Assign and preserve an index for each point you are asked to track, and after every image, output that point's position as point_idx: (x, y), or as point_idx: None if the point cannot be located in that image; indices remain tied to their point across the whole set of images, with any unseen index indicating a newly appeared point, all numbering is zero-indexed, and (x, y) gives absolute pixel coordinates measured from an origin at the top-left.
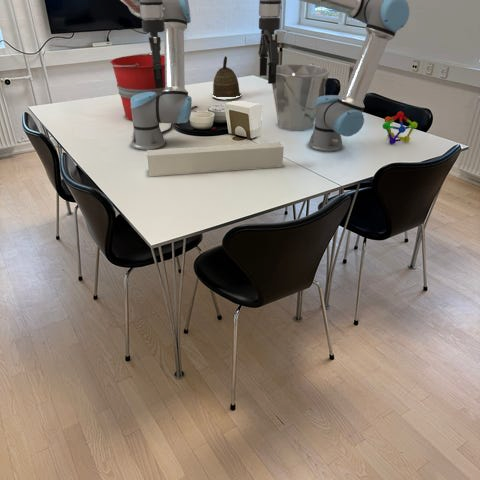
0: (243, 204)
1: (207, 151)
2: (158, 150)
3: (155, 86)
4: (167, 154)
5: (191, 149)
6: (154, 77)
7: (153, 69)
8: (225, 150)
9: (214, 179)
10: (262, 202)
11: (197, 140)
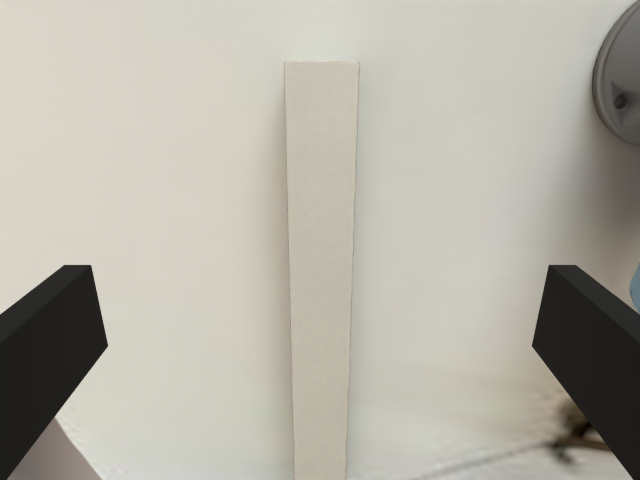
0: None
1: (292, 320)
2: (343, 121)
3: (51, 276)
4: (286, 160)
5: (327, 264)
6: (8, 335)
7: (636, 344)
8: (292, 380)
9: (233, 291)
10: None
11: (628, 280)
